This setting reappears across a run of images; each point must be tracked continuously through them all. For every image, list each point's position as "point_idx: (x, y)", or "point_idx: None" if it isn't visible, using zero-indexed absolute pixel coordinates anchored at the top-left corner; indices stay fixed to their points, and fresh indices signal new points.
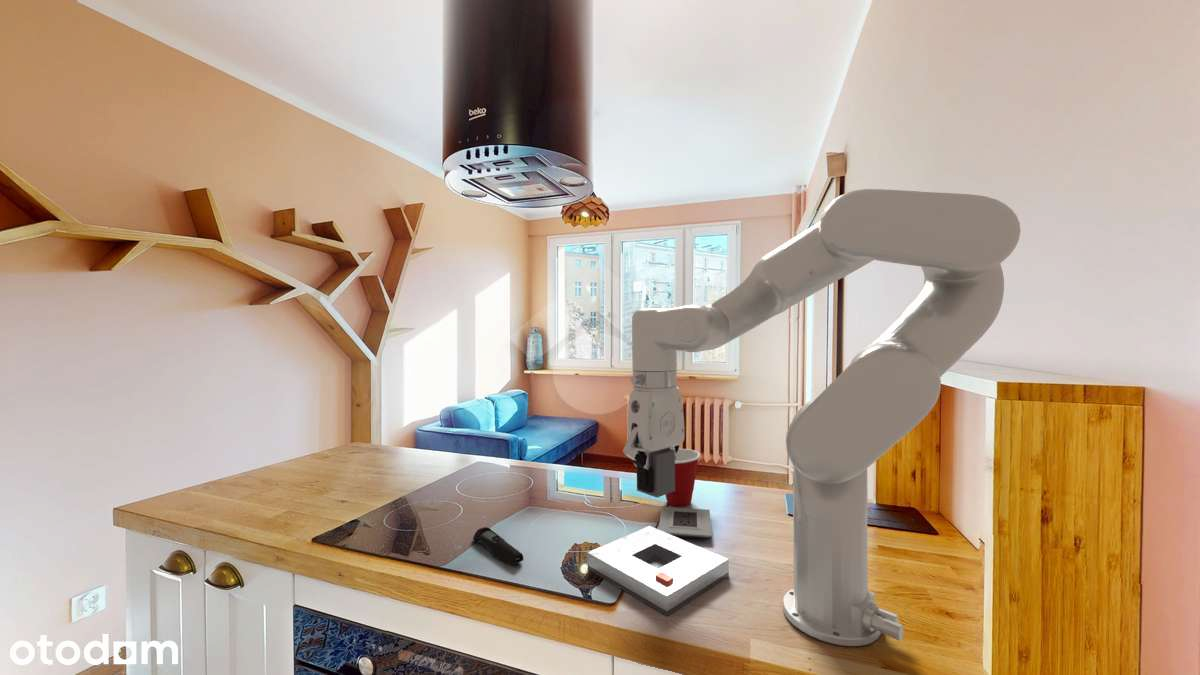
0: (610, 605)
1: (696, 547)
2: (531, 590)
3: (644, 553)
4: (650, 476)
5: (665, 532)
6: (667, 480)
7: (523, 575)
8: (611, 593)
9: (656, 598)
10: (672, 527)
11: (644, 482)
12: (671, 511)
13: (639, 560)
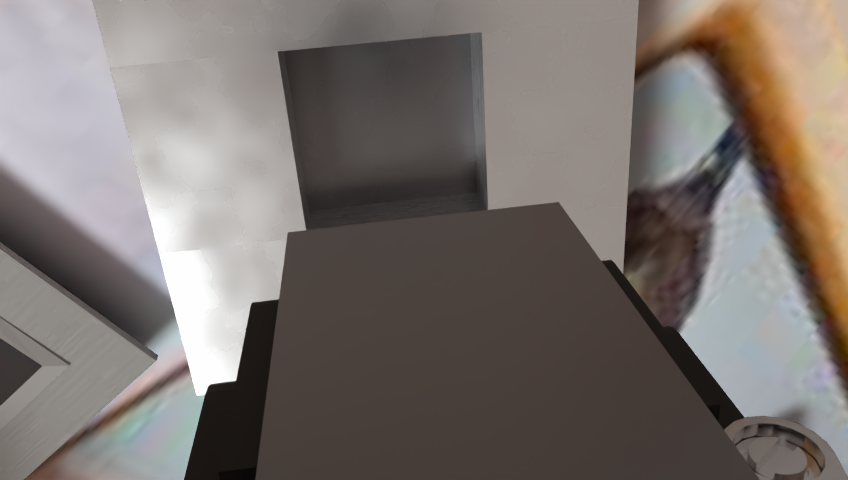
0: (714, 42)
1: (132, 74)
2: (832, 295)
3: (389, 217)
4: (676, 353)
5: (123, 336)
6: (416, 285)
7: (783, 387)
8: (649, 108)
9: None
10: (53, 355)
11: (687, 348)
12: None
13: (494, 153)
